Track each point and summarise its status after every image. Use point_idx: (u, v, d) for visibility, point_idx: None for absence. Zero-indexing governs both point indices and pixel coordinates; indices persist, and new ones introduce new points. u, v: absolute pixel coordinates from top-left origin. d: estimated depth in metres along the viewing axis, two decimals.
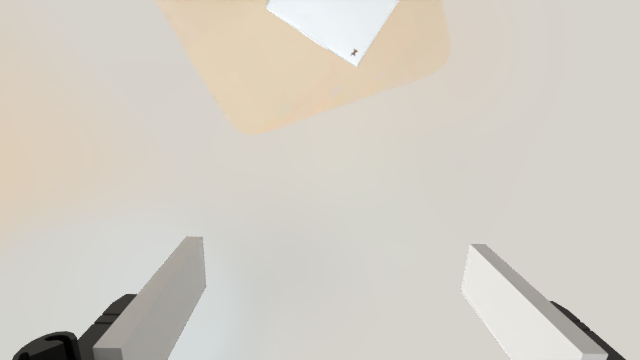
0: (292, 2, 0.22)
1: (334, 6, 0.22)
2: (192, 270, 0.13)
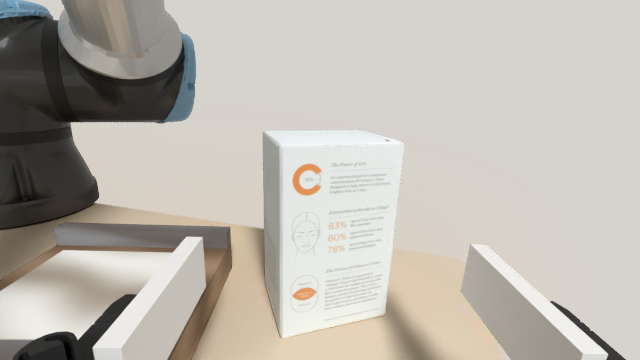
0: (299, 140, 0.18)
1: (333, 135, 0.20)
2: (192, 270, 0.13)
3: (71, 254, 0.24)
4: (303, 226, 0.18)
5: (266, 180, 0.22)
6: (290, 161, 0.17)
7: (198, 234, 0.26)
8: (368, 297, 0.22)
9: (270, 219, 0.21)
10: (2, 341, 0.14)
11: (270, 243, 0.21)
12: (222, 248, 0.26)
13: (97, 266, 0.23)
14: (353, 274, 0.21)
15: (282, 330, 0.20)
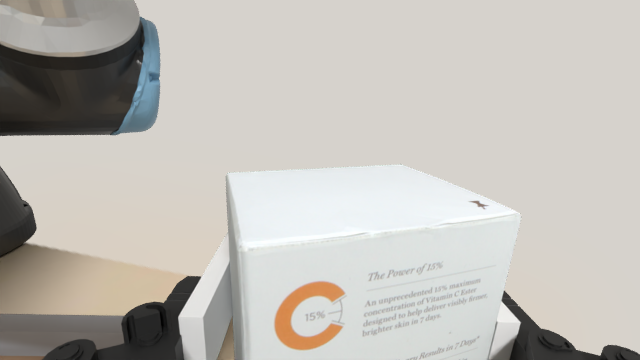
0: (293, 215, 0.08)
1: (363, 189, 0.10)
2: None
3: None
4: None
5: None
6: (268, 282, 0.07)
7: None
8: None
9: (236, 353, 0.11)
10: None
11: None
12: None
13: None
14: None
15: None
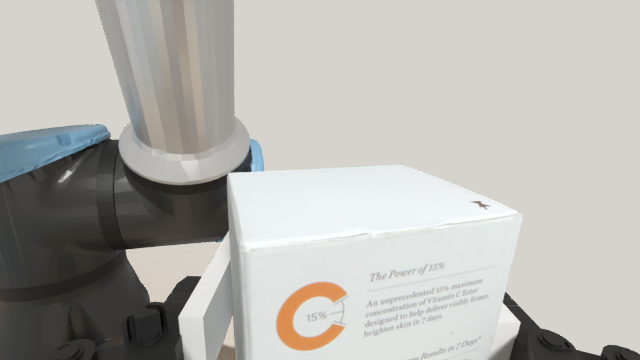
0: (295, 215, 0.08)
1: (364, 190, 0.10)
2: None
3: None
4: None
5: None
6: (269, 283, 0.07)
7: None
8: None
9: (237, 354, 0.10)
10: None
11: None
12: None
13: None
14: None
15: None
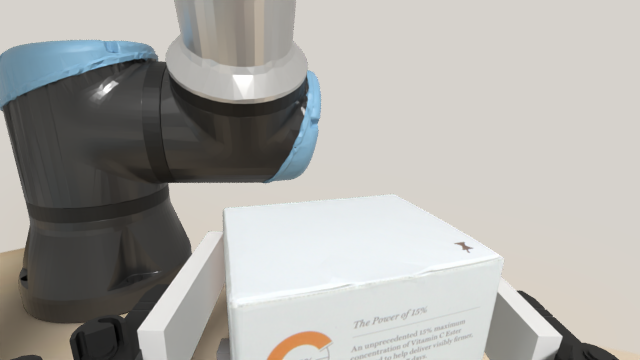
0: (283, 262, 0.08)
1: (353, 230, 0.10)
2: (216, 262, 0.14)
3: None
4: None
5: None
6: (257, 335, 0.07)
7: None
8: None
9: None
10: None
11: None
12: None
13: None
14: None
15: None
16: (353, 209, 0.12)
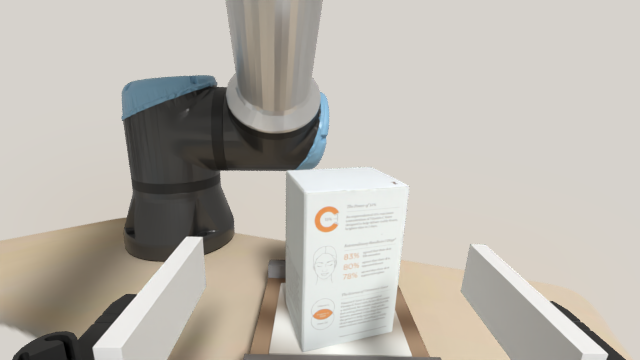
0: (320, 184, 0.22)
1: (347, 177, 0.24)
2: (192, 270, 0.13)
3: None
4: (322, 257, 0.22)
5: (289, 214, 0.25)
6: (313, 205, 0.20)
7: None
8: (377, 317, 0.25)
9: (293, 248, 0.24)
10: (339, 356, 0.22)
11: (292, 268, 0.25)
12: None
13: None
14: (364, 297, 0.24)
15: (303, 345, 0.23)
16: (348, 171, 0.26)
